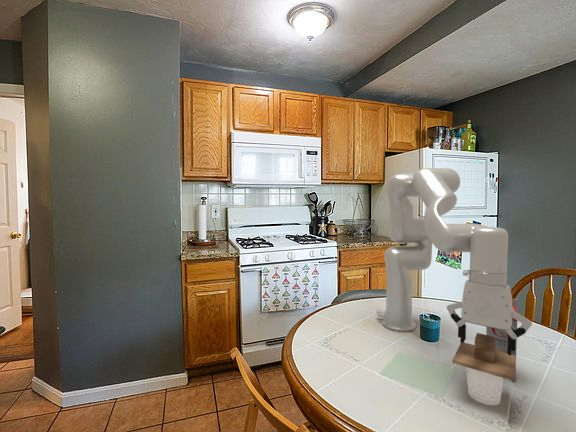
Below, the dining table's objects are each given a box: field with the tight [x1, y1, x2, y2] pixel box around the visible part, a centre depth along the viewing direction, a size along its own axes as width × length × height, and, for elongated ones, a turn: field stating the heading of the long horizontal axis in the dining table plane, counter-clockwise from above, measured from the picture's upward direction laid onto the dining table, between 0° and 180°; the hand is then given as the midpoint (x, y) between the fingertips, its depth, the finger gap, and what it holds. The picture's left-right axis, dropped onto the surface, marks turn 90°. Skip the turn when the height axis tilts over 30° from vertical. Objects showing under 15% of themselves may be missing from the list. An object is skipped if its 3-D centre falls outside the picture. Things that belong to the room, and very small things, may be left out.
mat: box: [378, 351, 455, 398], centre depth 86 cm, size 16×16×1 cm
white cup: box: [466, 367, 505, 406], centre depth 74 cm, size 8×8×10 cm
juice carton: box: [485, 298, 518, 383], centre depth 86 cm, size 7×7×22 cm
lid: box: [452, 332, 517, 382], centre depth 74 cm, size 12×12×6 cm
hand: (485, 346), depth 74 cm, fingers open, 9 cm apart
